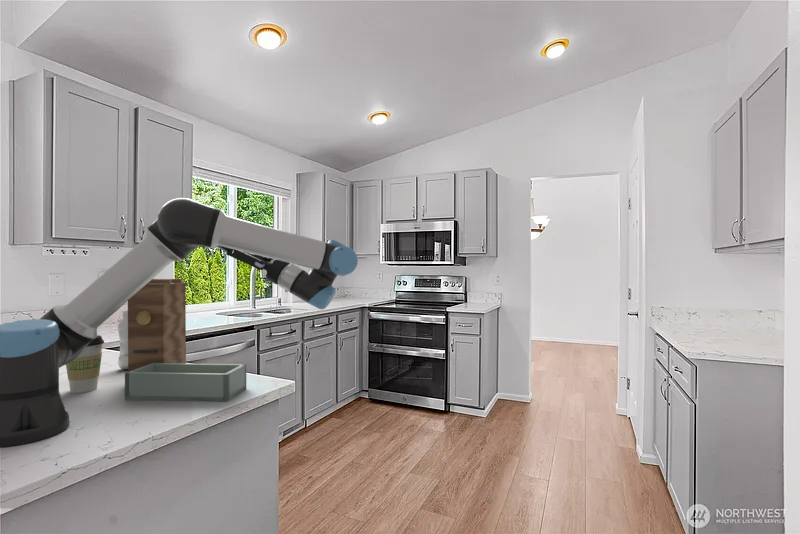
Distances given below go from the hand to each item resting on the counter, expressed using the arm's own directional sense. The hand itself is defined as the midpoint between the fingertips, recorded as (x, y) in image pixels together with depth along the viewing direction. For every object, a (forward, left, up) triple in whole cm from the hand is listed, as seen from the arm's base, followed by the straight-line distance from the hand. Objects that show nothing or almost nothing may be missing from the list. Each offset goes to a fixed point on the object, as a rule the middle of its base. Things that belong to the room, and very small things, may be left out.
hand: (222, 238), depth 130 cm
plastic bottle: (+19, +42, -44) cm, 63 cm away
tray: (-8, +6, -43) cm, 44 cm away
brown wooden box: (+6, +24, -43) cm, 50 cm away
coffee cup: (-6, +38, -44) cm, 58 cm away
